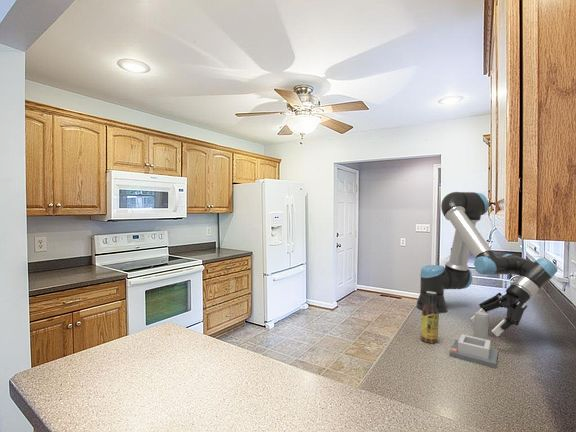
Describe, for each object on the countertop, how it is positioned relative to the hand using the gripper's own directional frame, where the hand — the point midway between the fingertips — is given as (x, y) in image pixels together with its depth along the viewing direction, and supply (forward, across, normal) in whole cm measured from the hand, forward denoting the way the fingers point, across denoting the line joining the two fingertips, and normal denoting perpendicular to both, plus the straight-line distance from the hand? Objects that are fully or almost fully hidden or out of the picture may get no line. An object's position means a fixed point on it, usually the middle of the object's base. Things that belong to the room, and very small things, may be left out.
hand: (483, 327), depth 123 cm
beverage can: (+5, +1, -5) cm, 7 cm away
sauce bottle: (+19, +2, +10) cm, 22 cm away
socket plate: (+11, -10, +2) cm, 15 cm away
